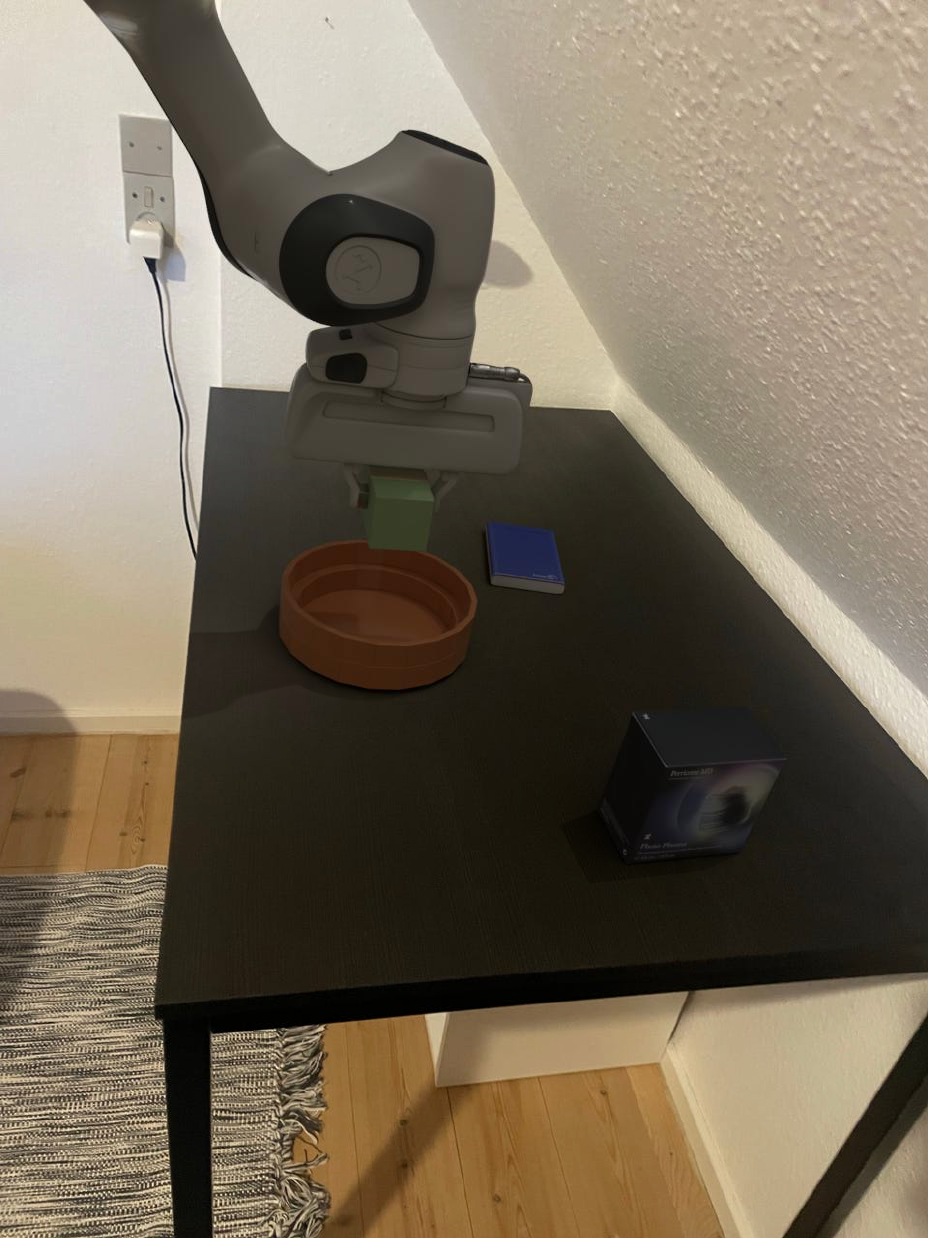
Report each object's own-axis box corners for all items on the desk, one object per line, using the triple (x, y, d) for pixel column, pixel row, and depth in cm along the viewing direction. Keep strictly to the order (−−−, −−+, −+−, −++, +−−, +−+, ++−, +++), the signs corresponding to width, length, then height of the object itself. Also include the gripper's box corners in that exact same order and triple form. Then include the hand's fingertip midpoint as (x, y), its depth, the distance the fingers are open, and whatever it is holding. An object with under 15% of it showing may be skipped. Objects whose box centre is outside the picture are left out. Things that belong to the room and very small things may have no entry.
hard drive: (565, 582, 104) (553, 530, 114) (492, 572, 103) (487, 520, 113) (562, 594, 104) (550, 541, 115) (490, 584, 103) (484, 531, 114)
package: (368, 548, 81) (375, 496, 78) (358, 500, 88) (364, 450, 85) (426, 552, 82) (435, 500, 79) (412, 503, 89) (420, 454, 86)
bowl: (281, 692, 82) (285, 641, 79) (276, 581, 97) (279, 534, 94) (483, 697, 86) (494, 648, 83) (449, 589, 101) (457, 545, 98)
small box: (626, 870, 72) (665, 767, 66) (593, 808, 77) (627, 708, 71) (744, 856, 75) (792, 758, 69) (705, 798, 80) (746, 702, 74)
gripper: (528, 357, 82) (498, 500, 89) (288, 330, 77) (277, 483, 84) (546, 383, 77) (513, 532, 84) (291, 356, 72) (279, 517, 79)
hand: (393, 508), depth 84 cm, fingers closed on package, 5 cm apart
